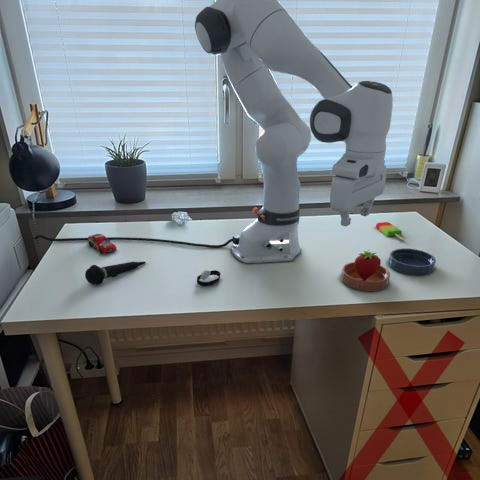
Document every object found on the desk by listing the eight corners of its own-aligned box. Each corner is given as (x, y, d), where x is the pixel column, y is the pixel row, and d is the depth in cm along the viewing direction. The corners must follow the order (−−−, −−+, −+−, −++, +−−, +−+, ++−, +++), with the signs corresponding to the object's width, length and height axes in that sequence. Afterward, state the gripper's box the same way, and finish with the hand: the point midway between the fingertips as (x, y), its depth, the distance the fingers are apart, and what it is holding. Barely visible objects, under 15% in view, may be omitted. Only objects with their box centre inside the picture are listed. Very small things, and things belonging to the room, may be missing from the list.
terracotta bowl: (356, 294, 121) (358, 285, 119) (332, 274, 132) (334, 265, 130) (397, 287, 125) (399, 278, 123) (371, 268, 135) (372, 259, 134)
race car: (119, 253, 143) (117, 241, 141) (103, 257, 140) (101, 245, 138) (101, 240, 152) (100, 229, 150) (86, 244, 149) (84, 233, 147)
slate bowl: (405, 278, 130) (408, 269, 128) (379, 260, 140) (381, 251, 138) (442, 272, 133) (445, 263, 132) (414, 254, 144) (416, 246, 142)
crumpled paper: (192, 214, 163) (174, 215, 161) (191, 225, 165) (174, 226, 163) (186, 207, 169) (169, 208, 167) (186, 218, 171) (169, 219, 169)
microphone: (141, 271, 138) (84, 287, 125) (137, 253, 137) (79, 267, 123) (152, 271, 135) (94, 287, 121) (148, 252, 133) (89, 266, 119)
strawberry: (381, 283, 126) (387, 251, 121) (356, 285, 125) (361, 253, 119) (372, 274, 131) (378, 242, 126) (348, 276, 130) (353, 244, 124)
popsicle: (387, 226, 165) (388, 221, 164) (410, 241, 153) (411, 236, 152) (374, 227, 164) (375, 222, 163) (396, 243, 152) (397, 238, 151)
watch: (214, 275, 130) (214, 264, 128) (224, 281, 127) (224, 270, 125) (193, 283, 126) (192, 272, 124) (203, 289, 123) (202, 278, 121)
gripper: (372, 152, 110) (364, 207, 117) (328, 167, 97) (321, 228, 104) (396, 156, 106) (386, 212, 114) (353, 172, 93) (345, 234, 101)
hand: (355, 220), depth 109 cm, fingers open, 8 cm apart
